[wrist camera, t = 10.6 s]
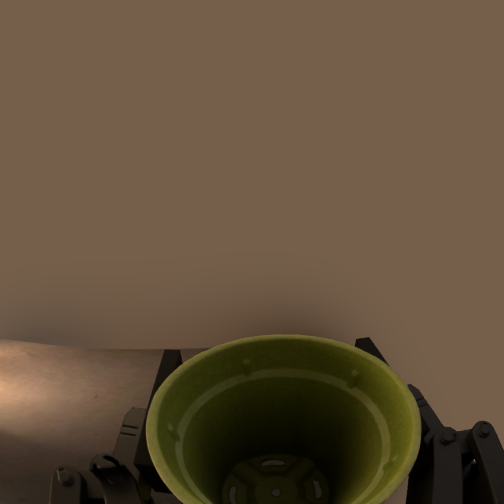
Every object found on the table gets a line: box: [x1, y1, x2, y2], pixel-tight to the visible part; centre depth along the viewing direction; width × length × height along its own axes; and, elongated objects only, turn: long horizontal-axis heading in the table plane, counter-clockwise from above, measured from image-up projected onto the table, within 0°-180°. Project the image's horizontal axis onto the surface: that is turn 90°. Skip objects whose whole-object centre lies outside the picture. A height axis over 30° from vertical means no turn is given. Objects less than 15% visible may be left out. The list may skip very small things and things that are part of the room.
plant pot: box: [146, 335, 421, 504], centre depth 9 cm, size 9×9×9 cm
